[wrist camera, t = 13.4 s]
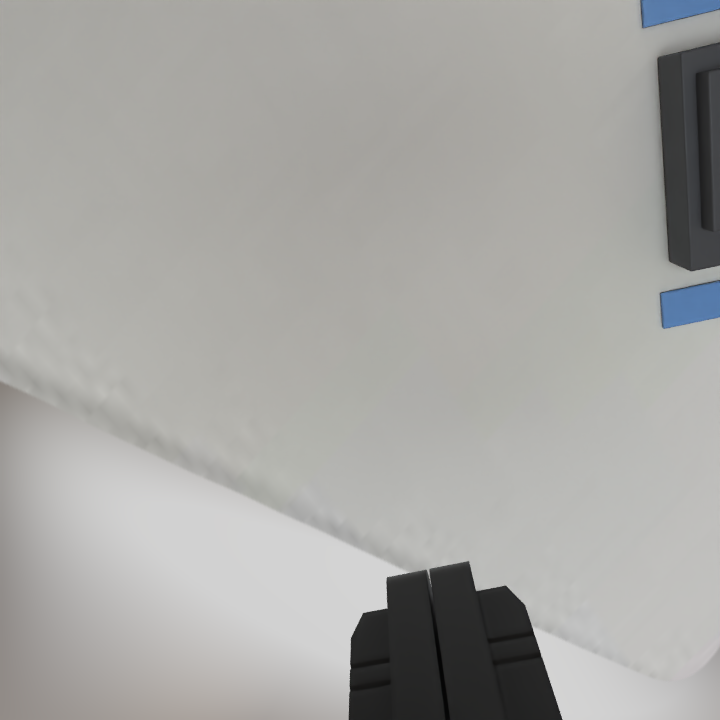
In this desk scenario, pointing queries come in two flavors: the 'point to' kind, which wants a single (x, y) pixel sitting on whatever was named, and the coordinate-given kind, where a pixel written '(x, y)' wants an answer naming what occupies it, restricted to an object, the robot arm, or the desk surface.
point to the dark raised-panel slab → (692, 154)
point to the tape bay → (705, 300)
